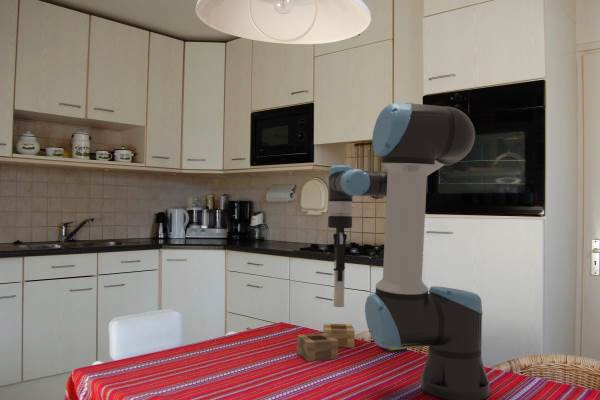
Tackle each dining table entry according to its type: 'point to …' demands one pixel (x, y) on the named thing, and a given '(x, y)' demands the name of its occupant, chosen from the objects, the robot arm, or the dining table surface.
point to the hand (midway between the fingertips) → (339, 290)
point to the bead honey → (341, 333)
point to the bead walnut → (317, 347)
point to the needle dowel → (338, 293)
